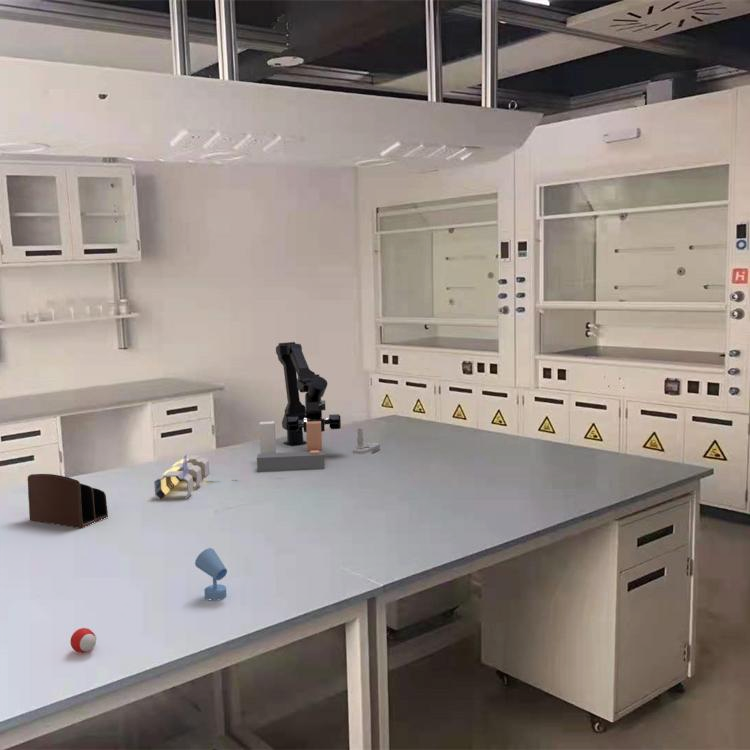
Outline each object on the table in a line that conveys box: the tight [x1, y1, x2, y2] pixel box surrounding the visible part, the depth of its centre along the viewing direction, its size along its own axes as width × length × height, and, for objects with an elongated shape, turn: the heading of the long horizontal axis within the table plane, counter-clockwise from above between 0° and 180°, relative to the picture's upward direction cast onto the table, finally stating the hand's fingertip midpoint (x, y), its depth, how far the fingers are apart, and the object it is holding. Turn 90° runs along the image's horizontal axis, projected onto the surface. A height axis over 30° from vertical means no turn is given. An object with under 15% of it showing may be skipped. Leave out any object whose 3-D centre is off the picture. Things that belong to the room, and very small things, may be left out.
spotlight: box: [194, 547, 228, 601], centre depth 167 cm, size 5×10×7 cm
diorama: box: [153, 454, 210, 501], centre depth 250 cm, size 25×10×13 cm, turn 178°
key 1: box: [258, 420, 277, 454], centre depth 273 cm, size 4×5×14 cm
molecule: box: [69, 627, 97, 654], centre depth 145 cm, size 5×5×4 cm
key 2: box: [306, 421, 323, 452], centre depth 271 cm, size 4×5×14 cm
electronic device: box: [352, 428, 381, 455], centre depth 290 cm, size 5×10×15 cm
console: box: [256, 450, 325, 473], centre depth 271 cm, size 16×22×7 cm
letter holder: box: [27, 473, 109, 529], centre depth 222 cm, size 10×20×14 cm, turn 64°
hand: (314, 443), depth 274 cm, fingers closed, pressing on key 2
